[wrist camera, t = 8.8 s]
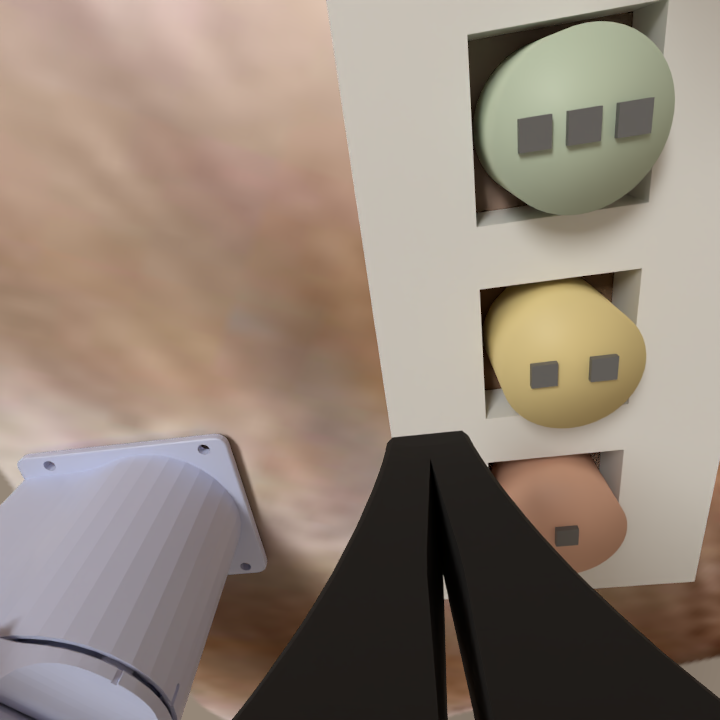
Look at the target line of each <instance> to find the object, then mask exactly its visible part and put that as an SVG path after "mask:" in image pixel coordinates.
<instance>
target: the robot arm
mask: <svg viewBox="0 0 720 720" xmlns="http://www.w3.org/2000/svg"><path fill="white" fill-rule="evenodd" d="M201 445H206V446H208V447H209V448H210V449H205V448H203V447H202V446H201ZM51 462H52V463H54V464H55V465H54V464H52V463H51ZM17 465H18V468H19V470H20V472H21V474H22V476H23V477H24V479H25V480H24V481H23V482H22V483H21V484H20V485H19V486H18V487H17V488H16V489H15V490H14V491H13V492H12V494H11V495H10V496H9V497H8V498H7V499H6V500H5V501H4V502H3V503H2V504H1V505H0V720H181V717H182V714H183V711H184V708H185V705H186V702H187V698H188V696H189V693H190V690H191V686H192V683H193V680H194V677H195V674H196V671H197V668H198V665H199V662H200V659H201V656H202V652H203V649H204V646H205V643H206V640H207V637H208V634H209V631H210V628H211V625H212V622H213V618H214V615H215V612H216V609H217V606H218V603H219V600H220V597H221V594H222V591H223V588H224V584H225V581H226V578H227V575H232V574H245V573H257V572H262V571H263V570H265V568H266V565H267V557H266V554H265V551H264V548H263V545H262V542H261V539H260V536H259V533H258V530H257V527H256V524H255V521H254V517H253V514H252V511H251V508H250V505H249V502H248V499H247V496H246V493H245V490H244V487H243V484H242V481H241V478H240V475H239V472H238V468H237V465H236V462H235V459H234V456H233V453H232V450H231V447H230V444H229V441H228V440H227V438H225V437H224V436H222V435H220V434H209V435H199V436H190V437H181V438H172V439H163V440H153V441H144V442H135V443H126V444H117V445H107V446H98V447H89V448H80V449H70V450H61V451H52V452H43V453H34V454H27V455H24V456H23V457H22V458H21V459H20V460H19V461H18V464H17ZM246 563H248V564H246ZM443 576H444V580H445V585H446V589H447V594H448V598H449V603H450V608H451V612H452V617H453V621H454V626H455V630H456V635H457V639H458V644H459V648H460V653H461V657H462V662H463V667H464V671H465V676H466V680H467V685H468V689H469V694H470V698H471V703H472V707H473V712H474V718H475V720H720V698H718V697H717V696H716V695H715V694H713V693H712V692H711V691H710V690H708V689H707V688H706V687H705V686H704V685H702V684H701V683H700V682H699V681H697V680H696V679H695V678H694V677H692V676H691V675H690V674H689V673H688V672H686V671H685V670H684V669H683V668H682V667H680V666H679V665H678V664H677V663H675V662H674V661H673V660H672V659H670V658H669V657H668V656H667V655H666V654H664V653H663V652H662V651H661V650H660V649H659V648H657V647H656V646H655V645H654V644H653V643H652V642H651V641H650V640H648V639H647V638H646V637H645V636H644V635H643V634H642V633H641V632H639V631H638V630H637V629H636V628H635V627H634V626H633V625H632V624H631V623H629V622H628V621H627V620H626V619H625V618H624V617H623V616H622V615H620V614H619V613H618V612H617V611H616V610H615V609H614V608H613V607H612V606H611V605H610V604H609V603H608V602H607V601H606V600H605V599H604V598H603V597H601V596H600V595H599V594H598V593H597V592H596V591H595V590H594V589H593V588H592V587H591V586H590V585H589V584H588V583H587V582H586V581H585V580H584V579H583V578H582V577H581V576H580V575H579V574H578V573H577V572H576V571H575V570H574V569H573V568H572V567H571V566H570V565H569V564H568V563H567V562H566V561H565V560H564V559H563V557H562V556H561V555H560V554H559V553H558V552H557V551H556V550H555V549H554V548H553V547H552V545H551V544H550V543H549V542H548V541H547V540H546V539H545V538H544V537H543V536H542V535H541V533H540V532H539V531H538V530H537V529H536V528H535V526H534V525H533V524H532V523H531V522H530V521H529V520H528V518H527V517H526V516H525V515H524V513H523V512H522V511H521V510H520V509H519V507H518V506H517V505H516V504H515V502H514V501H513V500H512V499H511V497H510V496H509V495H508V494H507V492H506V491H505V490H504V489H503V487H502V486H501V485H500V483H499V482H498V481H497V479H496V478H495V477H494V475H493V474H492V472H491V471H490V469H489V468H488V467H487V465H486V464H485V462H484V461H483V459H482V458H481V456H480V455H479V453H478V452H477V450H476V448H475V447H474V445H473V443H472V441H471V439H470V437H469V435H467V434H466V433H465V432H463V431H462V430H461V431H451V432H441V433H431V434H421V435H411V436H401V437H393V438H392V439H391V440H390V441H389V442H388V443H387V447H386V452H385V455H384V459H383V462H382V465H381V468H380V471H379V474H378V477H377V480H376V482H375V485H374V488H373V490H372V493H371V495H370V497H369V499H368V502H367V504H366V506H365V509H364V511H363V513H362V515H361V518H360V520H359V522H358V524H357V527H356V529H355V531H354V533H353V535H352V537H351V539H350V540H349V542H348V544H347V546H346V548H345V550H344V552H343V554H342V556H341V558H340V560H339V562H338V563H337V565H336V567H335V569H334V571H333V573H332V575H331V576H330V578H329V580H328V582H327V583H326V585H325V587H324V588H323V590H322V592H321V593H320V595H319V597H318V598H317V600H316V602H315V603H314V605H313V607H312V608H311V610H310V611H309V613H308V614H307V616H306V618H305V619H304V621H303V622H302V624H301V625H300V627H299V629H298V630H297V632H296V633H295V635H294V636H293V637H292V639H291V640H290V642H289V643H288V645H287V646H286V647H285V649H284V650H283V652H282V653H281V655H280V656H279V657H278V659H277V660H276V662H275V663H274V665H273V666H272V667H271V669H270V670H269V672H268V673H267V675H266V676H265V677H264V679H263V680H262V681H261V683H260V684H259V685H258V687H257V688H256V690H255V691H254V692H253V694H252V695H251V696H250V697H249V699H248V700H247V701H246V703H245V704H244V705H243V707H242V708H241V709H240V710H239V712H238V713H237V714H236V715H235V717H234V718H233V719H232V720H448V717H447V689H446V653H445V617H444V583H443Z"/></svg>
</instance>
